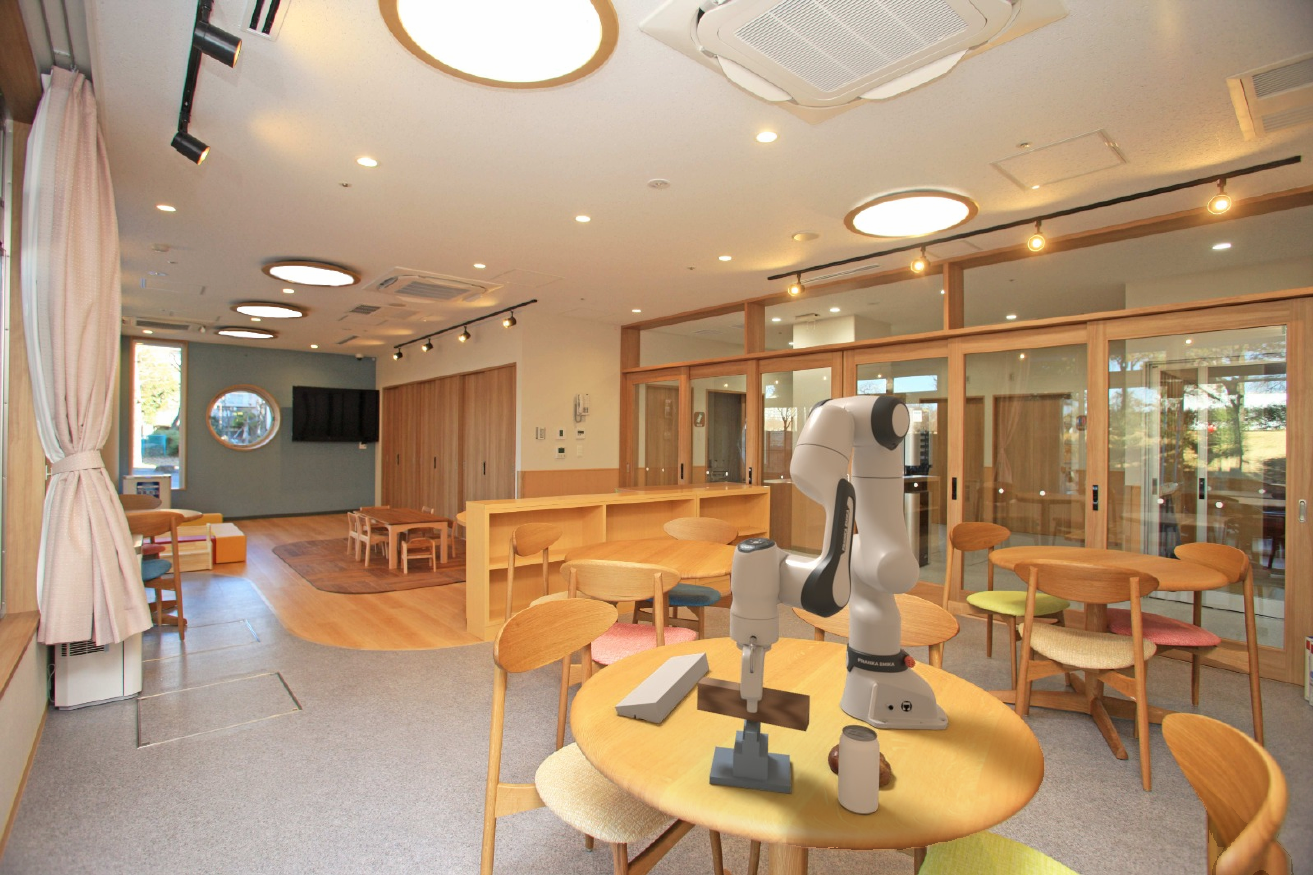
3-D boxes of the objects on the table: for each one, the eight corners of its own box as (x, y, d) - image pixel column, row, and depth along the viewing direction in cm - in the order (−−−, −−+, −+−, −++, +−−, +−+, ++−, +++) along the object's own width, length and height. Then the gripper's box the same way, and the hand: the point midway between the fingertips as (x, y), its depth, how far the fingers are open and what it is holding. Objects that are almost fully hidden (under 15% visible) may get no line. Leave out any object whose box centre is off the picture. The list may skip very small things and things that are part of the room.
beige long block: (619, 729, 136) (660, 725, 133) (614, 706, 137) (655, 702, 133) (675, 675, 168) (709, 671, 164) (671, 657, 168) (705, 652, 165)
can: (873, 820, 100) (875, 745, 100) (833, 807, 104) (834, 734, 104) (882, 801, 106) (883, 730, 106) (843, 788, 109) (845, 720, 109)
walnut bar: (809, 723, 112) (809, 695, 112) (805, 731, 109) (806, 702, 109) (702, 702, 120) (703, 676, 120) (697, 709, 117) (697, 682, 117)
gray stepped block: (789, 761, 118) (790, 712, 118) (790, 793, 107) (791, 740, 107) (715, 752, 121) (716, 705, 121) (709, 783, 110) (710, 731, 110)
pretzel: (907, 783, 112) (908, 762, 112) (859, 795, 108) (860, 774, 108) (861, 750, 123) (861, 732, 123) (815, 760, 119) (816, 741, 119)
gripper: (771, 649, 103) (769, 732, 103) (772, 614, 123) (770, 684, 123) (732, 645, 105) (731, 728, 105) (739, 612, 125) (738, 681, 125)
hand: (752, 704), depth 114 cm, fingers closed on walnut bar, 4 cm apart
